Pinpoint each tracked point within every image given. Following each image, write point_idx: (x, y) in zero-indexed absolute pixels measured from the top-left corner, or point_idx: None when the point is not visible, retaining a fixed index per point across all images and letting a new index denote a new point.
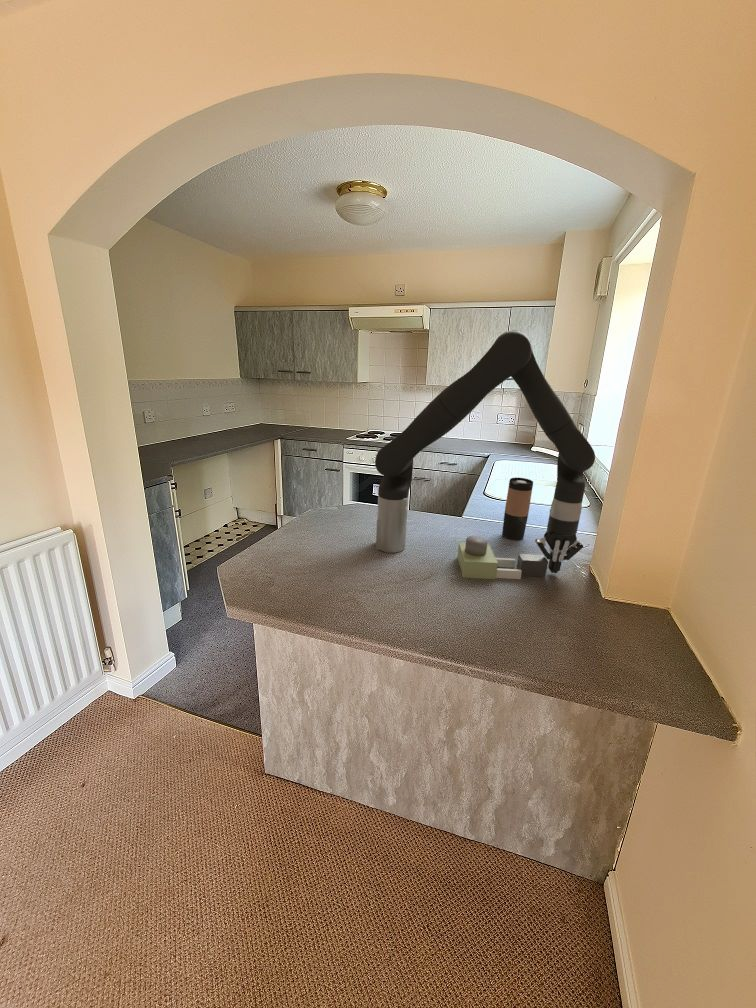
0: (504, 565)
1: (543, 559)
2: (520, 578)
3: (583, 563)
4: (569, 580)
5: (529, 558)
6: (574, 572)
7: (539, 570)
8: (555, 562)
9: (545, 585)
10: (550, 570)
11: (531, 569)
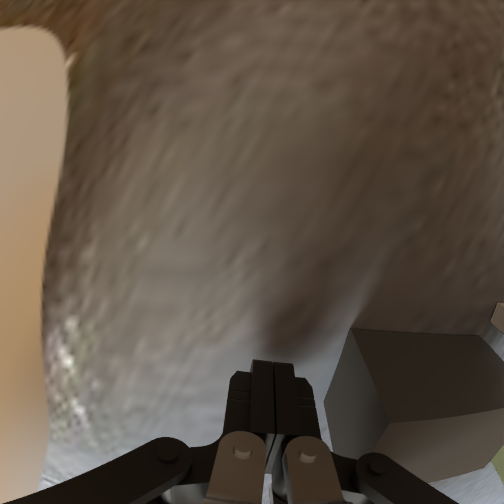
0: None
1: (398, 448)
2: (501, 304)
3: (52, 419)
4: (182, 285)
5: (484, 435)
6: (110, 369)
7: (413, 362)
8: (289, 429)
9: (411, 224)
10: (304, 379)
11: (459, 365)
